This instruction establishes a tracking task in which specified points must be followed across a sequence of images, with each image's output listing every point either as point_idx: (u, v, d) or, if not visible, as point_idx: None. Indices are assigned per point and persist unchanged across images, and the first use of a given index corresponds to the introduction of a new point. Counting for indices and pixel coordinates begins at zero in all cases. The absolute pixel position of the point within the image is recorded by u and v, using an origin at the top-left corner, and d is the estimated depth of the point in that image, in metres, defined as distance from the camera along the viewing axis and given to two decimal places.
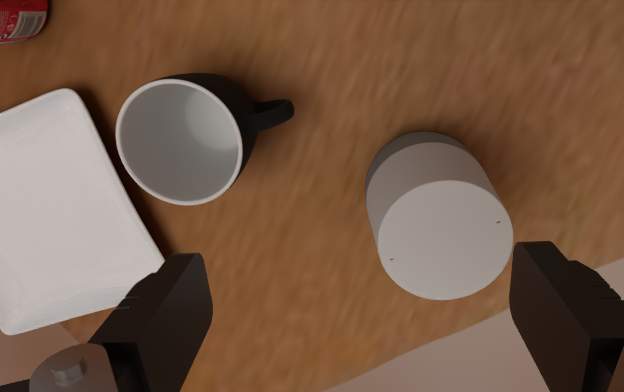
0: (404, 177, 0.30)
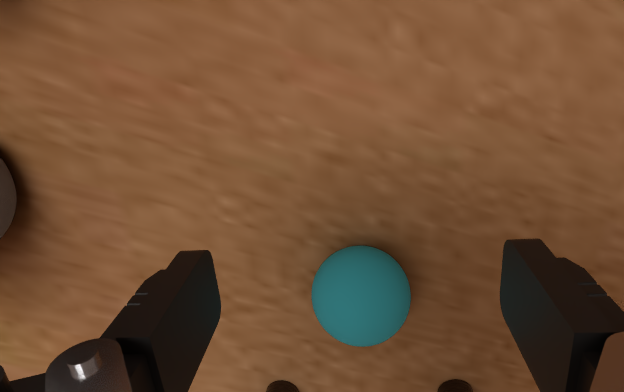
0: None
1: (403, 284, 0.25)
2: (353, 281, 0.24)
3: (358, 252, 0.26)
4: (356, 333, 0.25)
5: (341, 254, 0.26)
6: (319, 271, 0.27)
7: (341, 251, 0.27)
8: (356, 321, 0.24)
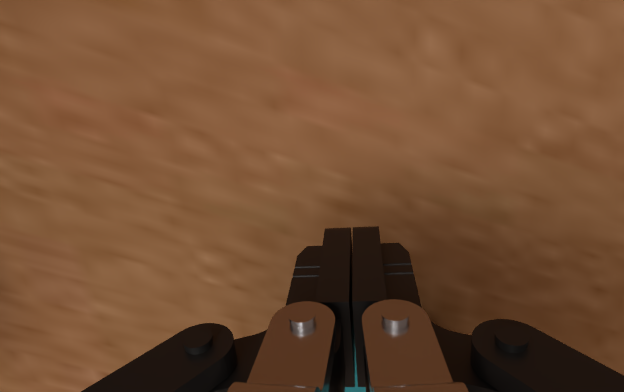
0: None
1: None
2: None
3: None
4: None
5: None
6: None
7: None
8: None
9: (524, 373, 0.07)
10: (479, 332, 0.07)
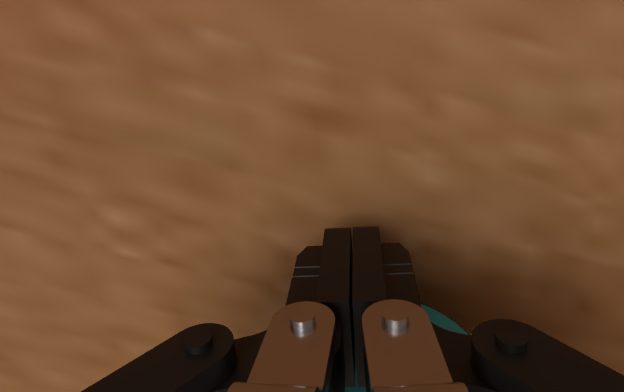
0: None
1: None
2: None
3: None
4: None
5: None
6: None
7: None
8: None
9: (524, 373, 0.07)
10: (479, 332, 0.07)
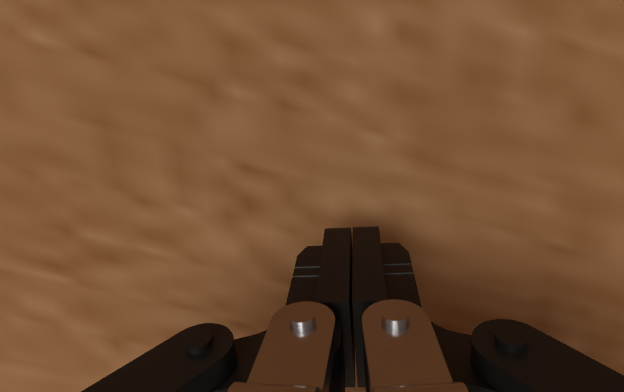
0: None
1: None
2: None
3: None
4: None
5: None
6: None
7: None
8: None
9: (524, 373, 0.07)
10: (479, 332, 0.07)
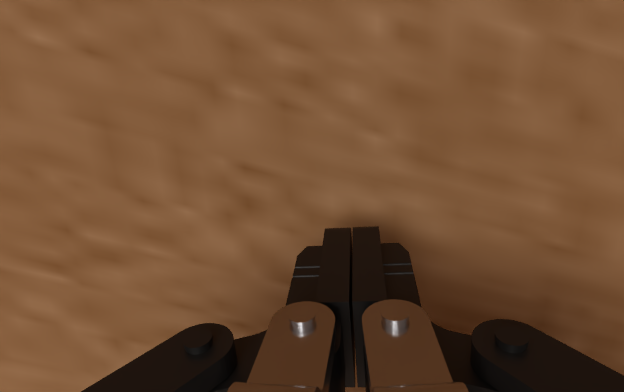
0: None
1: None
2: None
3: None
4: None
5: None
6: None
7: None
8: None
9: (524, 373, 0.07)
10: (479, 332, 0.07)
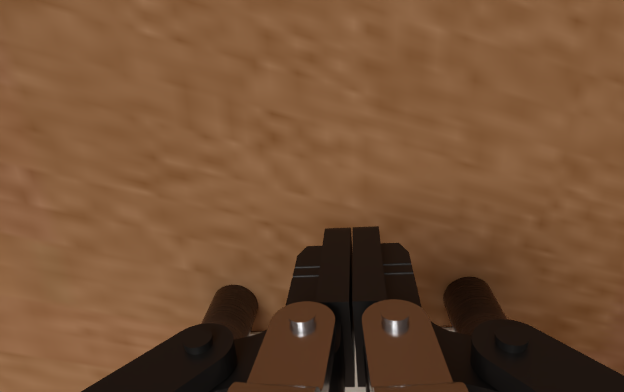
0: None
1: None
2: None
3: None
4: None
5: None
6: None
7: None
8: None
9: (524, 373, 0.07)
10: (479, 332, 0.07)
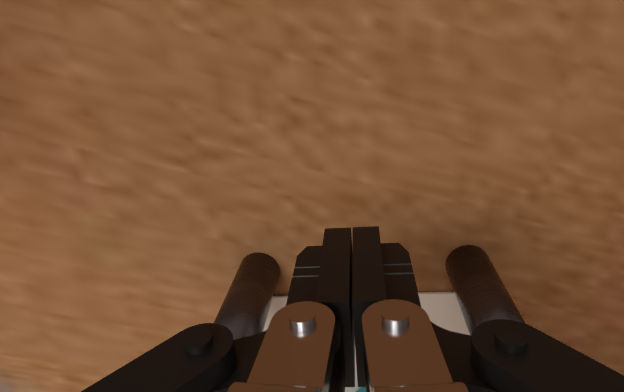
0: None
1: None
2: None
3: None
4: None
5: None
6: None
7: None
8: None
9: (524, 373, 0.07)
10: (479, 332, 0.07)
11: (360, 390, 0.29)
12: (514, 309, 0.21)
